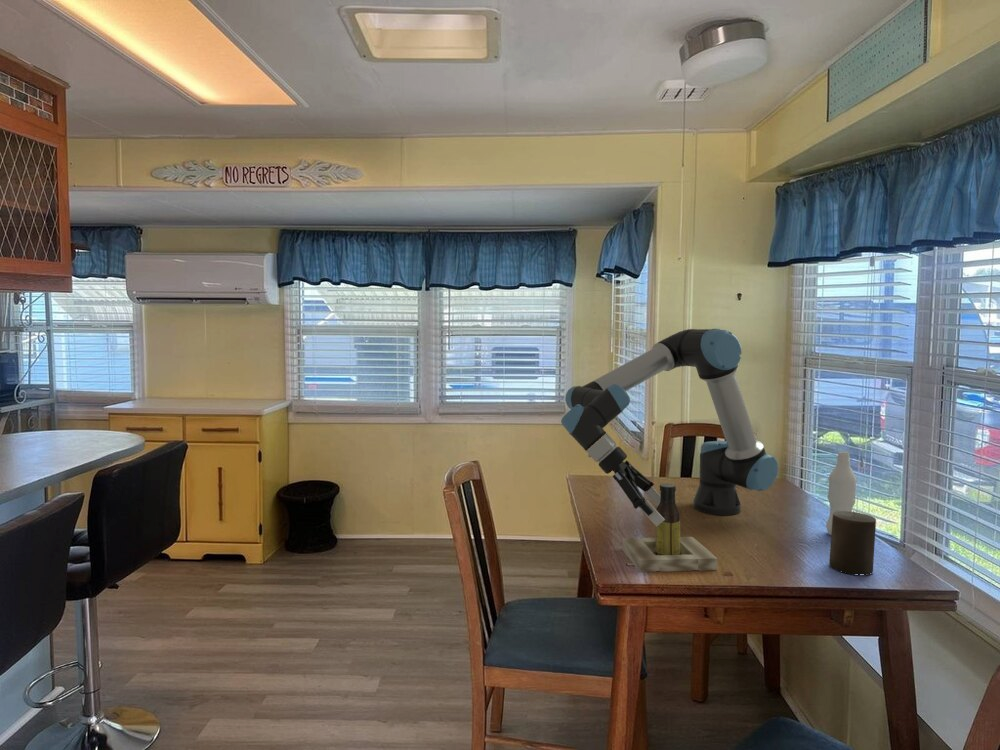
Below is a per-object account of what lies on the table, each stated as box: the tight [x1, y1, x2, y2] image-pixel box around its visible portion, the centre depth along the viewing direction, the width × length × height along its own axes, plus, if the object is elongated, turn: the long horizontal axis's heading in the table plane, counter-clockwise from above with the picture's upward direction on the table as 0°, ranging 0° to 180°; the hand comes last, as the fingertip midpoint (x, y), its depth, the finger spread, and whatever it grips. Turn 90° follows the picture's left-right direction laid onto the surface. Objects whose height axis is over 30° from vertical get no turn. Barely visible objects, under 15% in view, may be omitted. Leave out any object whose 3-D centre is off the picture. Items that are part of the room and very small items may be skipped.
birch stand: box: [621, 536, 718, 573], centre depth 160 cm, size 20×16×3 cm
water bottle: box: [825, 450, 857, 536], centre depth 179 cm, size 7×7×25 cm
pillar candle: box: [828, 510, 877, 576], centre depth 155 cm, size 10×10×15 cm
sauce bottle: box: [655, 483, 681, 555], centre depth 160 cm, size 6×6×20 cm
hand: (663, 515), depth 160 cm, fingers open, 13 cm apart
